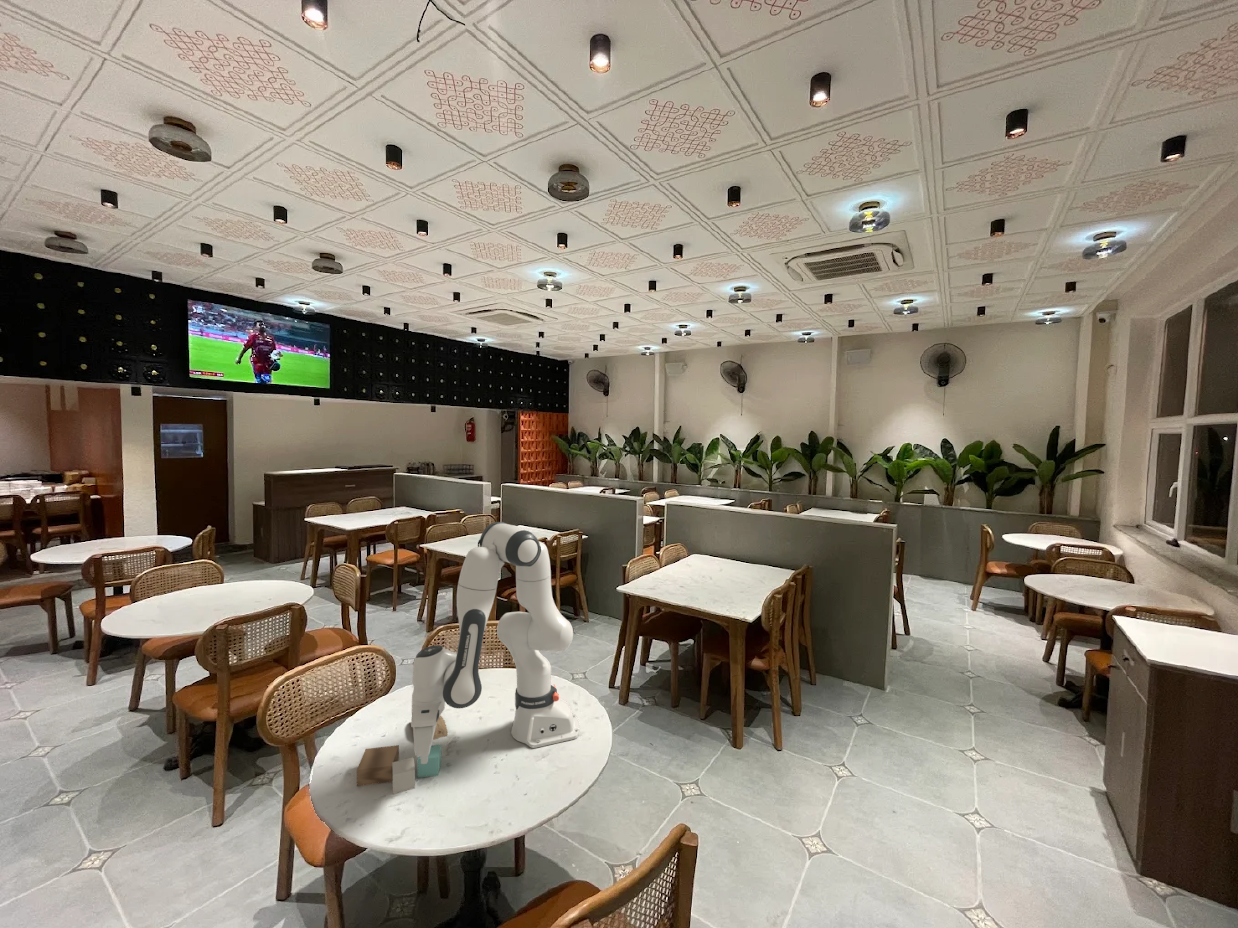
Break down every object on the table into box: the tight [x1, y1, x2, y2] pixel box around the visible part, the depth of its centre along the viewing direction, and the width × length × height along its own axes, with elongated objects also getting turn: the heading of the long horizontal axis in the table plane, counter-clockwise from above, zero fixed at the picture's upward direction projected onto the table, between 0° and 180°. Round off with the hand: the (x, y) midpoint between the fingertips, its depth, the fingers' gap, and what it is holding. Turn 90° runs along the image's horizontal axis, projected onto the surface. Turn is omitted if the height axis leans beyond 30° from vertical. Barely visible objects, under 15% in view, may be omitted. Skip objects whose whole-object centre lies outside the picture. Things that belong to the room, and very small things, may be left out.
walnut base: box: [356, 744, 400, 787], centre depth 139 cm, size 9×9×5 cm
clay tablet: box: [409, 715, 448, 740], centre depth 160 cm, size 14×10×3 cm
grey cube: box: [391, 756, 416, 795], centre depth 135 cm, size 6×6×6 cm
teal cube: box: [417, 744, 442, 778], centre depth 141 cm, size 6×6×6 cm
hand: (427, 751), depth 139 cm, fingers open, 8 cm apart
